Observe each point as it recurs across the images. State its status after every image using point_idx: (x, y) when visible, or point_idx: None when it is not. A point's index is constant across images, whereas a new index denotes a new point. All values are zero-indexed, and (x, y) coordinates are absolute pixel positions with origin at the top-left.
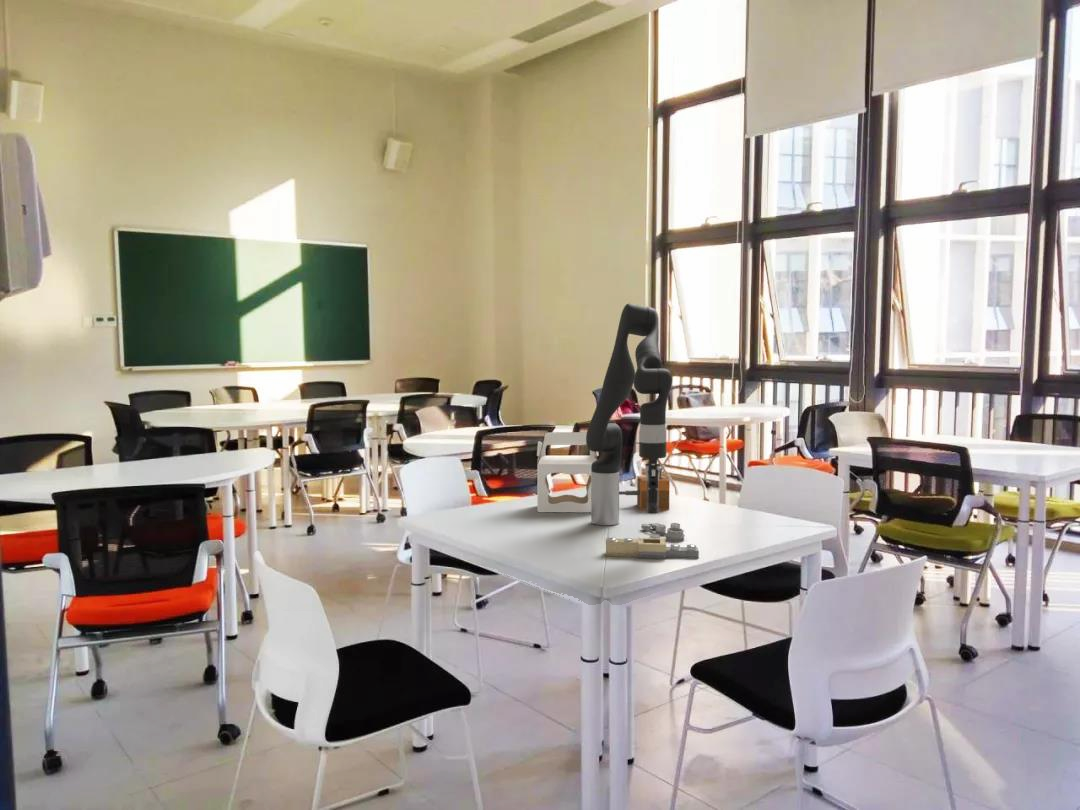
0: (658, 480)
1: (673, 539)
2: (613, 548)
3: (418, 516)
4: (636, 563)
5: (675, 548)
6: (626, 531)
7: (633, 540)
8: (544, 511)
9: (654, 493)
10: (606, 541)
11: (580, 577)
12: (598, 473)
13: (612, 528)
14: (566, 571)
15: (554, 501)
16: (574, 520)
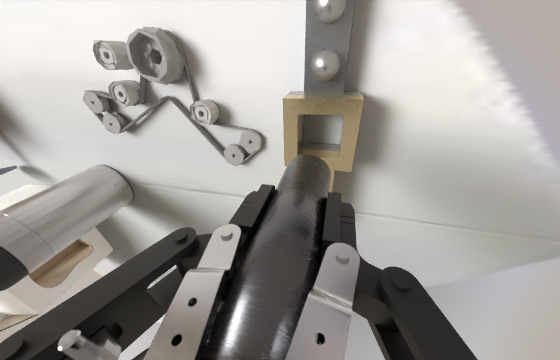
0: (351, 310)
1: (182, 62)
2: None
3: None
4: (394, 164)
5: (339, 64)
6: (148, 157)
7: None
8: (107, 245)
9: (353, 240)
10: None
11: (482, 262)
12: (28, 268)
13: (140, 177)
14: (430, 271)
15: None
16: (124, 219)
